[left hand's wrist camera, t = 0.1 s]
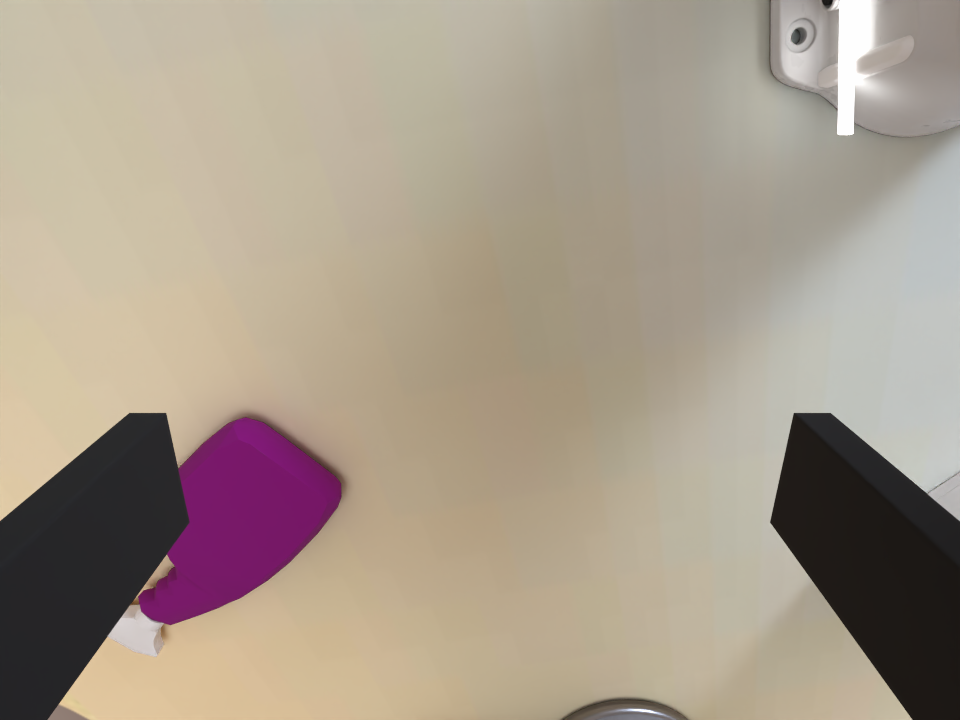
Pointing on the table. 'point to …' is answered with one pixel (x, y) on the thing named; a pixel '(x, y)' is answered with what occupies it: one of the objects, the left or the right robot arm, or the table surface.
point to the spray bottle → (233, 527)
